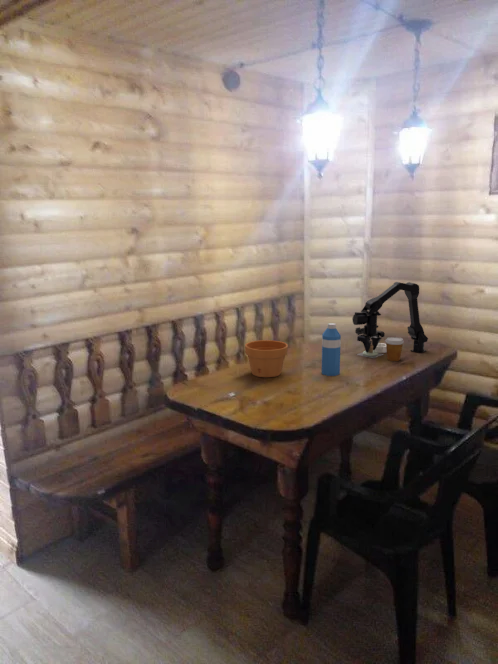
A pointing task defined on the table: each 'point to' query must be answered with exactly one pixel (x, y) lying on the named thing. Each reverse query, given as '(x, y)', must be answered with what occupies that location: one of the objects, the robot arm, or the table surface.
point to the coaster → (370, 356)
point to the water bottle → (331, 351)
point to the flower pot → (266, 357)
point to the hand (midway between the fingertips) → (370, 351)
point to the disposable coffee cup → (394, 348)
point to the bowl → (381, 348)
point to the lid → (370, 352)
